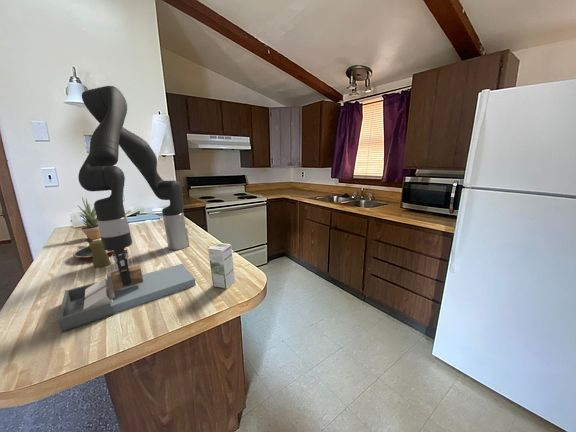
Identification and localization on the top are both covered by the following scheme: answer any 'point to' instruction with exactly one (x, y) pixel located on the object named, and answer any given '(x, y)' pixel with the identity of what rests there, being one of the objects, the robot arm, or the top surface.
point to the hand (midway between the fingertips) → (126, 282)
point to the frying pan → (88, 252)
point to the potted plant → (90, 222)
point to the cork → (99, 254)
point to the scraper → (116, 282)
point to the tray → (80, 310)
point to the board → (153, 287)
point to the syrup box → (221, 265)
